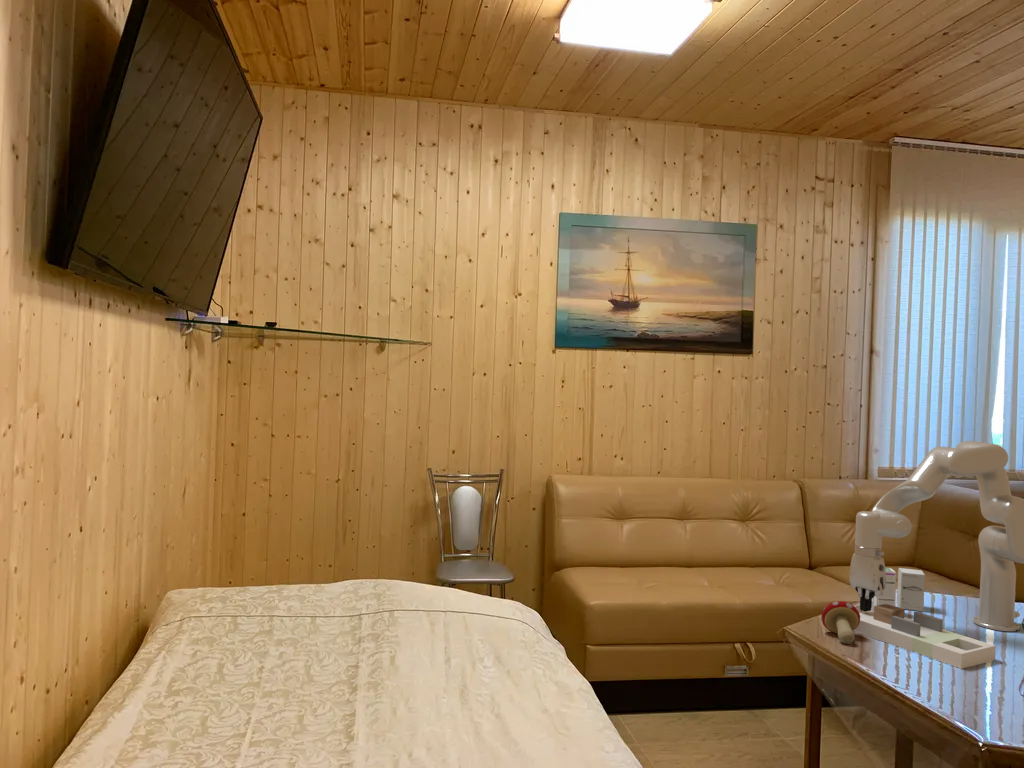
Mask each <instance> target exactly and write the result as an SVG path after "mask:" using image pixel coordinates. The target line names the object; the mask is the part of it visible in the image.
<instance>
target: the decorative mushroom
mask: <svg viewBox="0 0 1024 768" xmlns="http://www.w3.org/2000/svg"><path fill="white" fill-rule="evenodd" d="M859 613H860V612H859V610H858V608H856V607H855V605H854V604H852V603H850V602H847V601H845V600H844V601H843V600H837V601H836V600H835V601H832V602H830V603H829V604H827V605H826V606H825V607H824V608H823V610H822V611H821V615H820V616H821V618H820V620H821V622H822V625H823V626H824V627H825V628H826V629H827V630H828V631H830V632H832V633H834V634H837V636H838V640H839V641H840V642H841V643H843V644H845V645H850V644H852V643H853V641H854V640H855V639H856V638H855V632H854V631H853V630H855V629H856V628H857V626H858V625H859V623H860V614H859Z"/></svg>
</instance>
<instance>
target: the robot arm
mask: <svg viewBox="0 0 1024 768" xmlns="http://www.w3.org/2000/svg"><path fill="white" fill-rule="evenodd" d="M1008 462H1009V455H1008V452H1007V451H1006V449H1005V448H1004V447H1003V446H1001V445H999V444H996V443H990V442H983V441H975V440H965V441H962V442H959V443H958V444H957V445H956V446H955V447H950V446H949V447H948V446H936V447H933V448H932V449H931V450H930V451H928V453H927V454H926V456H925V457H924V458H923V459H922V461H920V463H919V464H918V465H917V467H916V468H915V470H914V471H913V472H912V473H911V475H910V476H909V477H908V478H907V479H906V481H904V482H902V483H900V484H898V485H897V486H895V487H894V488H892V489H891V490H889V491H888V492H886V493H885V494H884V495H883V496H882V497H881V498H880V499H879V500H878V501H877V503H875V505H874V506H873V508H872V510H871V511H869V510H868V511H866V510H864V511H858V512H857V513H856V515H855V533H854V553H853V554H852V556H851V561H850V565H849V567H850V568H849V577H848V578H849V583H850V584H849V585H850V588H852V589H853V590H855V591H856V593H857V595H858V597H859V610H860V611H863V612H867V611H872V609H873V598H874V596H876V595H883V590H884V589H885V588H886V571H885V567H886V564H885V559H884V558H883V556H885V551H882V542H883V541H882V539H883V537H889V538H895V539H899V538H900V539H901V538H904V537H907V536H908V535H909V534H910V533H911V531H912V523H911V521H910V519H909V518H908V517H907V516H906V515H903V514H901V513H900V512H901V510H903V509H904V508H906V507H907V506H910V505H911V504H915V503H918V502H923V501H925V500H929V499H931V498H932V497H933V496H934V495H935V494H936V493H937V491H938V490H939V489H940V488H941V486H942V484H944V482H945V481H946V480H947V479H948V477H949V476H953V477H954V476H955V477H962V478H963V477H973V476H975V478H976V481H977V486H978V494H979V495H978V496H979V506H980V512H981V516H982V517H983V518H984V519H985V520H987V521H990V522H991V523H994V524H999V525H988V526H986V527H984V528H982V529H981V531H980V532H979V534H978V541H977V542H978V548H979V554H980V578H979V581H980V583H979V584H980V585H979V605H978V615H975V616H974V617H973V619H972V622H973V623H974V624H976V625H977V626H979V627H982V628H986V629H989V630H993V631H1001V632H1017V631H1016V630H1018V631H1019V630H1020V627H1021V626H1020V624H1019V623H1017V622H1016V621H1015V619H1016V618H1020V617H1021V616H1020V615H1021V614H1020V612H1019V611H1017V610H1016V611H1015V607H1016V601H1015V600H1016V583H1017V582H1016V581H1017V569H1016V565H1015V563H1017V564H1018V563H1019V564H1024V498H1022V497H1019V496H1014V495H1012V493H1011V488H1010V480H1009V475H1008V472H1007V470H1006V469H1005V467H1006V466H1007V464H1008ZM1000 525H1001V526H1000Z"/></svg>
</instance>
